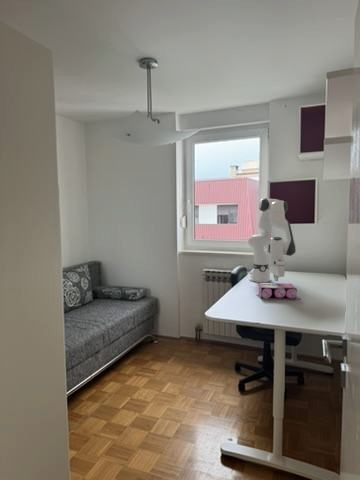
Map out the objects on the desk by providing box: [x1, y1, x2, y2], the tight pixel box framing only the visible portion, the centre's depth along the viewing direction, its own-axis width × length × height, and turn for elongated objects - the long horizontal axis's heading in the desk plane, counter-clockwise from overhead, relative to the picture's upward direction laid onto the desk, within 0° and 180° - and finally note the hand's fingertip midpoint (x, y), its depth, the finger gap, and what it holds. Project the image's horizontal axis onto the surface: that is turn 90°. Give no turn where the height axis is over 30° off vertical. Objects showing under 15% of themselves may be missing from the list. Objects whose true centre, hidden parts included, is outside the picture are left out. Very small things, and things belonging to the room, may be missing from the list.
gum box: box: [258, 282, 298, 300], centre depth 221 cm, size 24×8×14 cm
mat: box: [255, 293, 301, 301], centre depth 221 cm, size 14×26×1 cm, turn 94°
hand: (276, 280), depth 225 cm, fingers closed
